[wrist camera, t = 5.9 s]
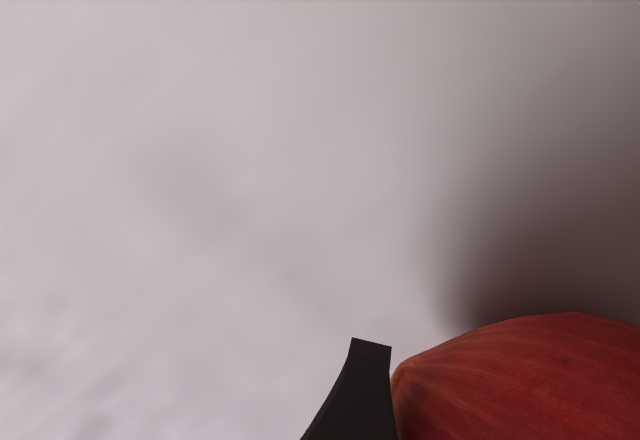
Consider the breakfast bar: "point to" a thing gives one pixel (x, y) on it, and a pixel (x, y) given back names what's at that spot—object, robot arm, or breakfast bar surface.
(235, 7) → the breakfast bar surface
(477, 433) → the onion
